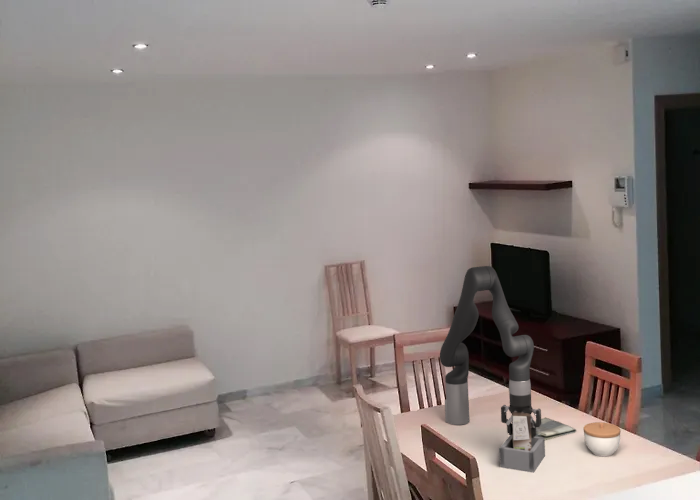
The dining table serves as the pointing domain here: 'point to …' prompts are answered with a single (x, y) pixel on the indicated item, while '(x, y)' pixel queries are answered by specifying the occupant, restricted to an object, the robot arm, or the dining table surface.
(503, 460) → the grey open box
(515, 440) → the coffee box
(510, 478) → the dining table surface
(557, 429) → the dish towel
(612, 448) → the lidded bowl
